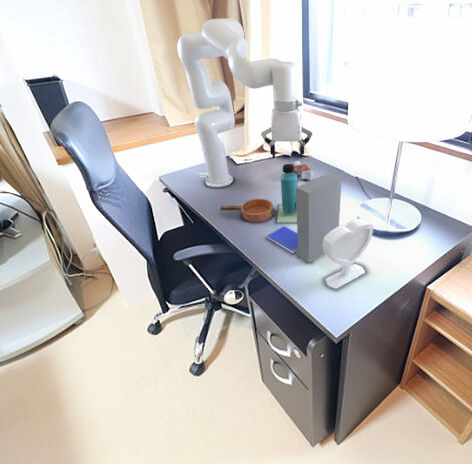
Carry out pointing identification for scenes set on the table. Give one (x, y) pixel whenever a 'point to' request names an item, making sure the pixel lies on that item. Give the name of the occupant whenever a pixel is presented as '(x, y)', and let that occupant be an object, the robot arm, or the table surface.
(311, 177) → the tape dispenser
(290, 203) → the beverage bottle
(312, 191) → the tall grey upright box
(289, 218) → the cloth
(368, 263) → the table surface
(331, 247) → the heart sculpture
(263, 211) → the pan
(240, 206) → the pan handle
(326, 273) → the table surface
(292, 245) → the hard drive
